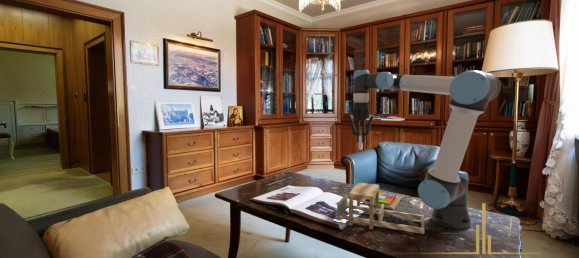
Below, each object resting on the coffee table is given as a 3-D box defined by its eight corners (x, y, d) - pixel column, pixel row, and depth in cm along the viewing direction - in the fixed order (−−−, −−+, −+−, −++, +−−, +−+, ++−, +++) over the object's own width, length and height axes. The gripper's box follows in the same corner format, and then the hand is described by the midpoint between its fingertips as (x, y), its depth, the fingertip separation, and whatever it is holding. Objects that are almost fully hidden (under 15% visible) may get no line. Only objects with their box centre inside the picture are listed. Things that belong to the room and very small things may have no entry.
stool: (378, 213, 133) (379, 184, 131) (372, 229, 116) (373, 196, 115) (357, 210, 137) (357, 182, 135) (348, 225, 120) (349, 193, 119)
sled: (423, 219, 123) (424, 204, 122) (424, 234, 110) (424, 216, 109) (345, 208, 137) (345, 194, 137) (337, 219, 124) (337, 204, 124)
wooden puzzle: (358, 204, 147) (358, 197, 146) (370, 194, 162) (370, 188, 162) (392, 211, 137) (393, 204, 136) (402, 200, 152) (402, 193, 152)
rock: (415, 226, 119) (415, 213, 118) (398, 232, 113) (398, 218, 113) (397, 219, 126) (397, 207, 126) (380, 225, 121) (380, 211, 120)
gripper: (375, 101, 140) (374, 148, 142) (349, 102, 145) (349, 147, 147) (373, 101, 133) (372, 150, 135) (346, 102, 138) (346, 149, 140)
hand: (360, 148), depth 141 cm, fingers closed
